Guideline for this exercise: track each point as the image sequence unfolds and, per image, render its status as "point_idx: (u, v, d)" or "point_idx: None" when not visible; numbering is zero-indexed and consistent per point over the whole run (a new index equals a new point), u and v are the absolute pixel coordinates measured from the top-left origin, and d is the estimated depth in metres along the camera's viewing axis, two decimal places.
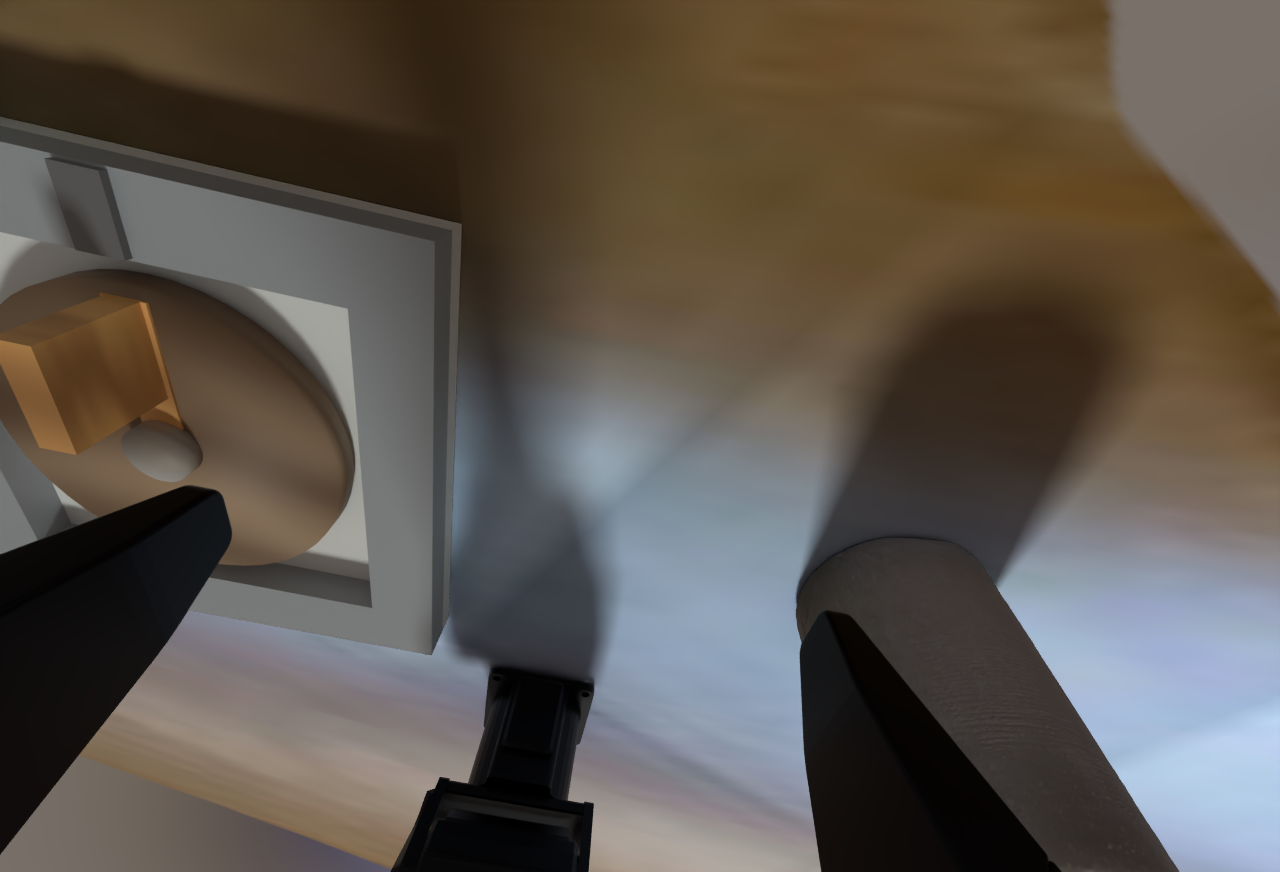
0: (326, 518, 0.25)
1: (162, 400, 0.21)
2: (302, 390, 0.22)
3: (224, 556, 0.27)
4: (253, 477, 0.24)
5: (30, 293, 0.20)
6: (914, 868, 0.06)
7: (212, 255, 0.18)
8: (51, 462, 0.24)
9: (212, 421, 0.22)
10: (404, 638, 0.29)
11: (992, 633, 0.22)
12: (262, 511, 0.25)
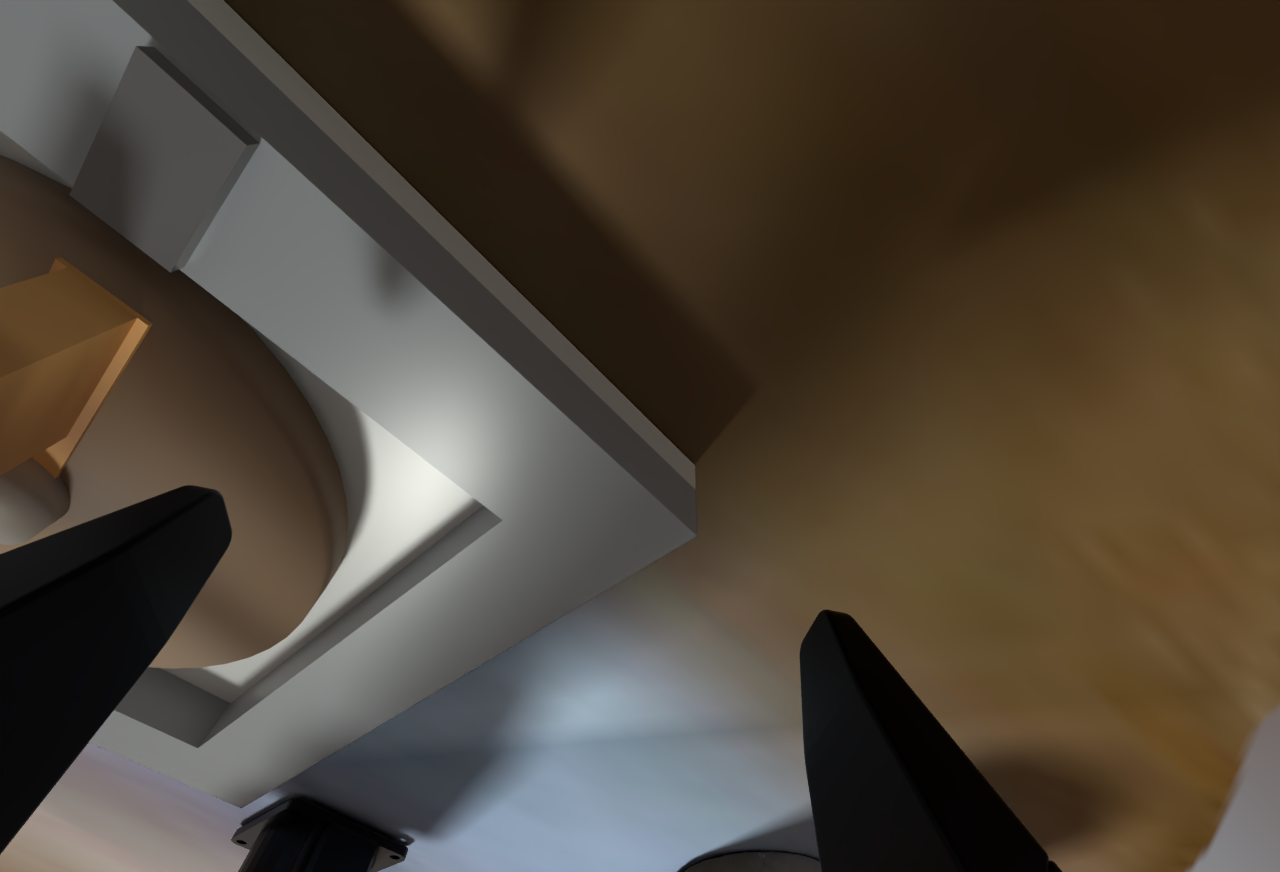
0: (220, 656, 0.16)
1: (55, 442, 0.11)
2: (327, 535, 0.13)
3: None
4: None
5: None
6: (914, 868, 0.06)
7: (348, 355, 0.10)
8: None
9: (127, 494, 0.13)
10: (217, 784, 0.20)
11: None
12: None
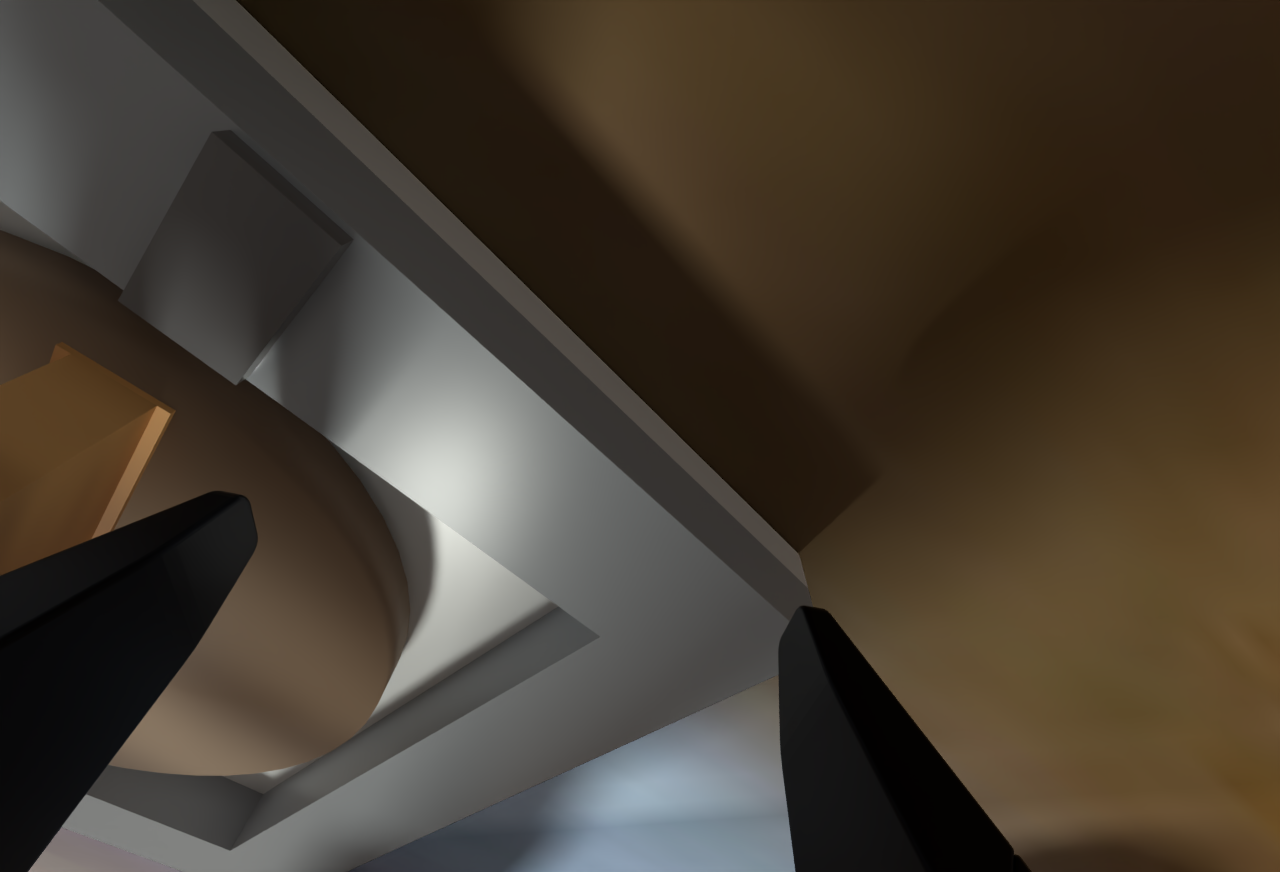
0: (277, 761, 0.14)
1: None
2: (389, 629, 0.11)
3: None
4: (180, 682, 0.12)
5: None
6: (881, 862, 0.06)
7: (438, 468, 0.09)
8: None
9: None
10: None
11: None
12: (157, 718, 0.13)
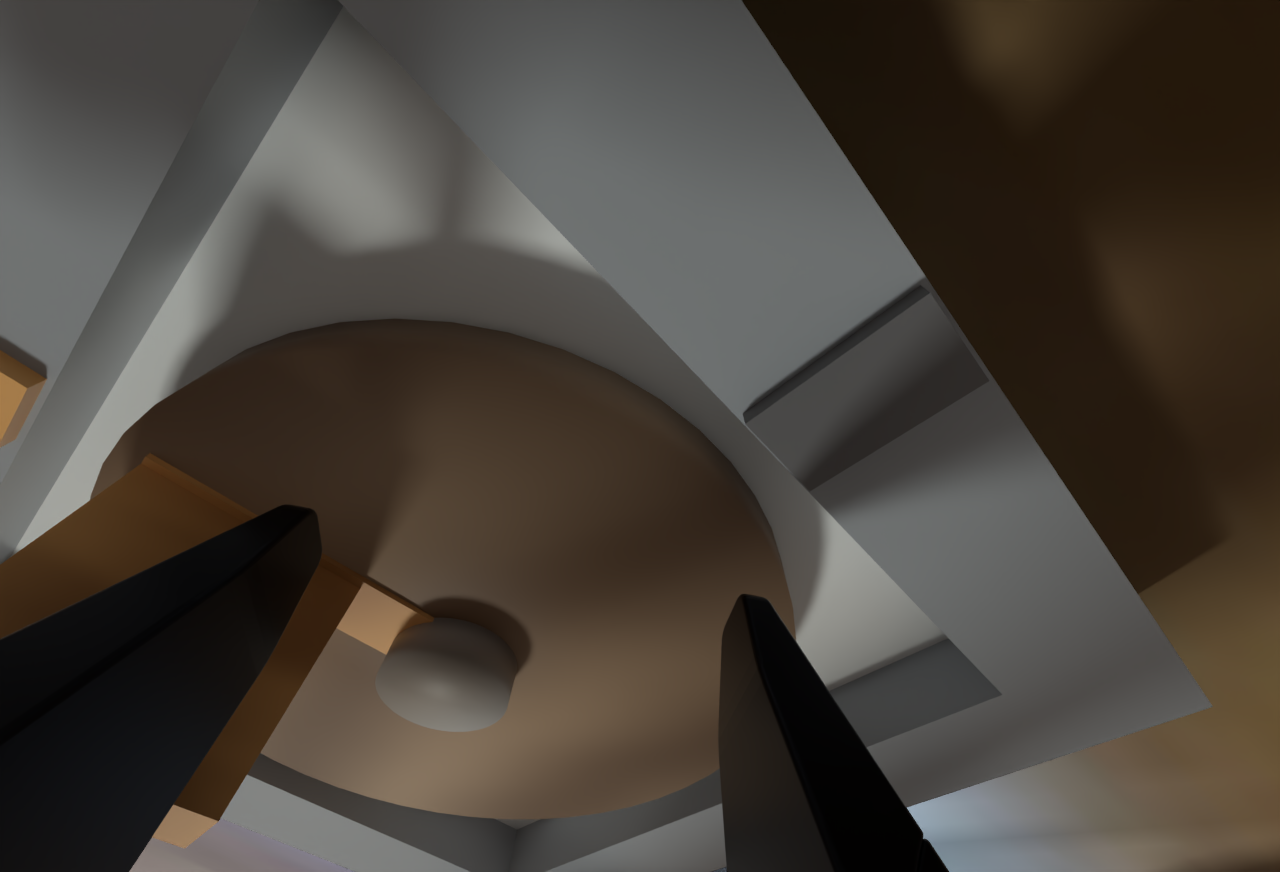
0: (762, 574, 0.10)
1: (350, 597, 0.10)
2: (456, 349, 0.08)
3: (696, 763, 0.13)
4: (587, 606, 0.11)
5: None
6: (793, 848, 0.06)
7: (936, 555, 0.09)
8: (410, 791, 0.15)
9: (439, 567, 0.10)
10: None
11: None
12: (662, 653, 0.11)
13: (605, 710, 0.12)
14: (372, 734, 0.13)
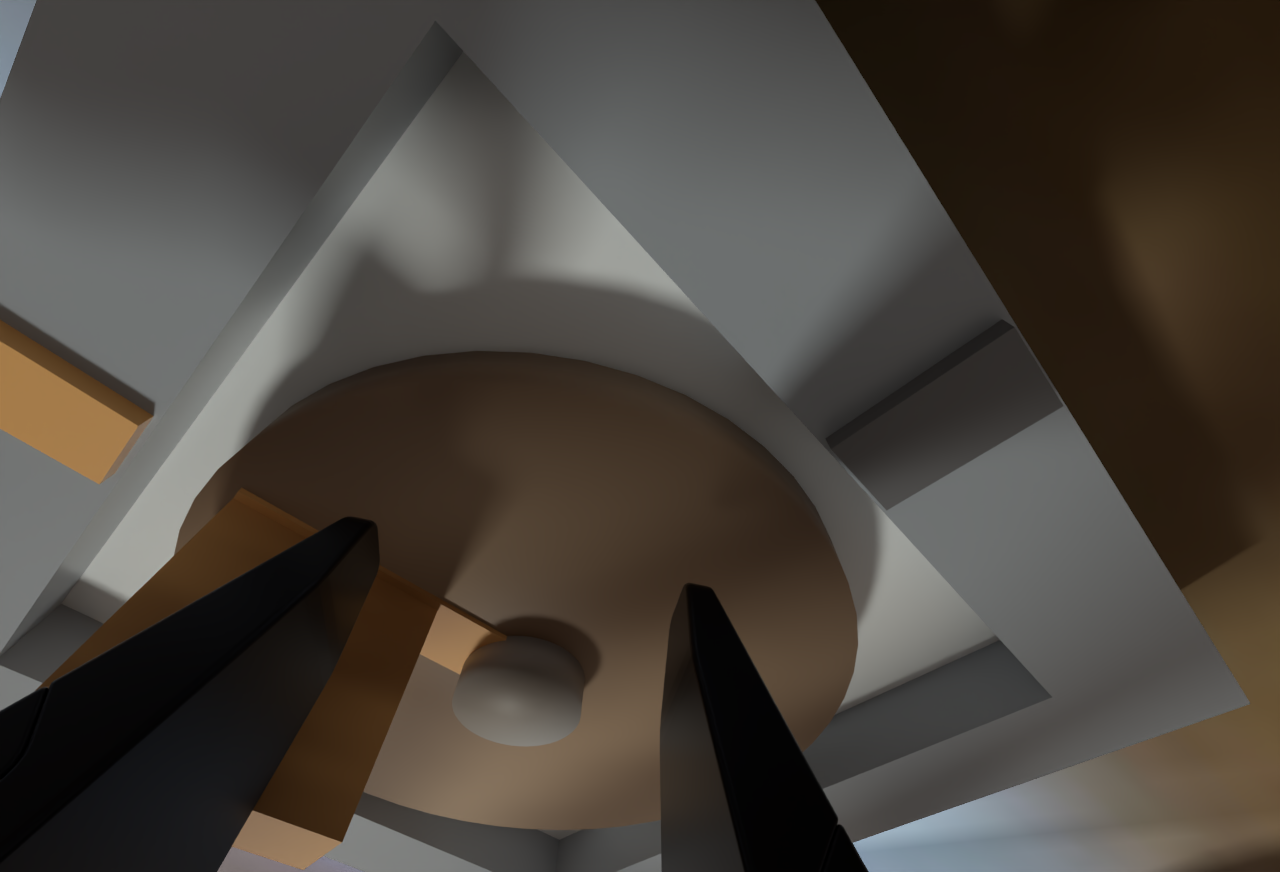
0: (829, 584, 0.10)
1: (429, 620, 0.10)
2: (543, 380, 0.08)
3: None
4: (656, 620, 0.11)
5: None
6: (712, 834, 0.05)
7: (998, 567, 0.10)
8: (470, 805, 0.15)
9: (515, 587, 0.10)
10: None
11: None
12: None
13: None
14: (437, 752, 0.14)
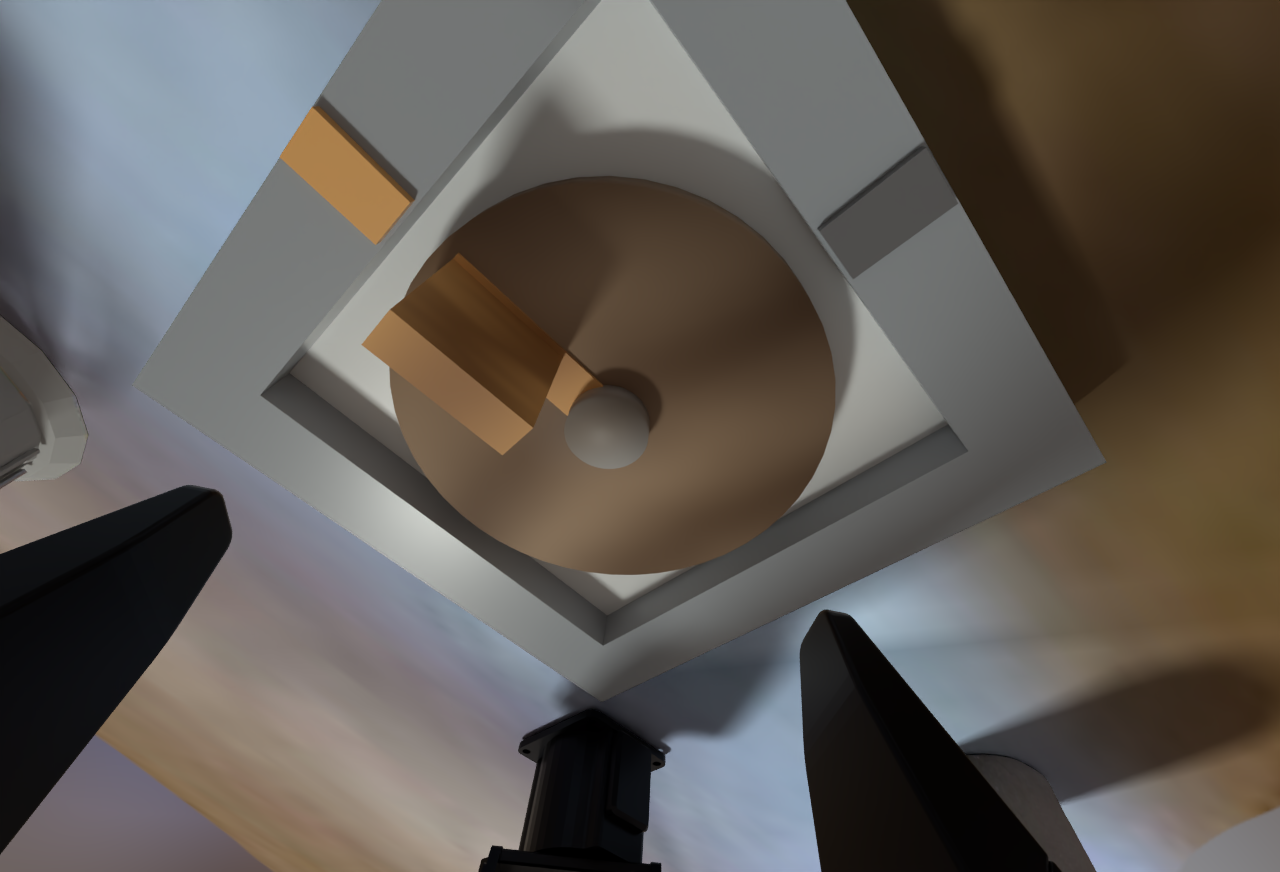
0: (818, 353, 0.16)
1: (559, 360, 0.16)
2: (656, 188, 0.14)
3: (756, 519, 0.20)
4: (704, 377, 0.17)
5: None
6: (914, 868, 0.06)
7: (927, 333, 0.15)
8: (550, 545, 0.21)
9: (615, 343, 0.16)
10: (596, 679, 0.25)
11: None
12: (747, 417, 0.17)
13: (702, 468, 0.18)
14: (536, 489, 0.19)
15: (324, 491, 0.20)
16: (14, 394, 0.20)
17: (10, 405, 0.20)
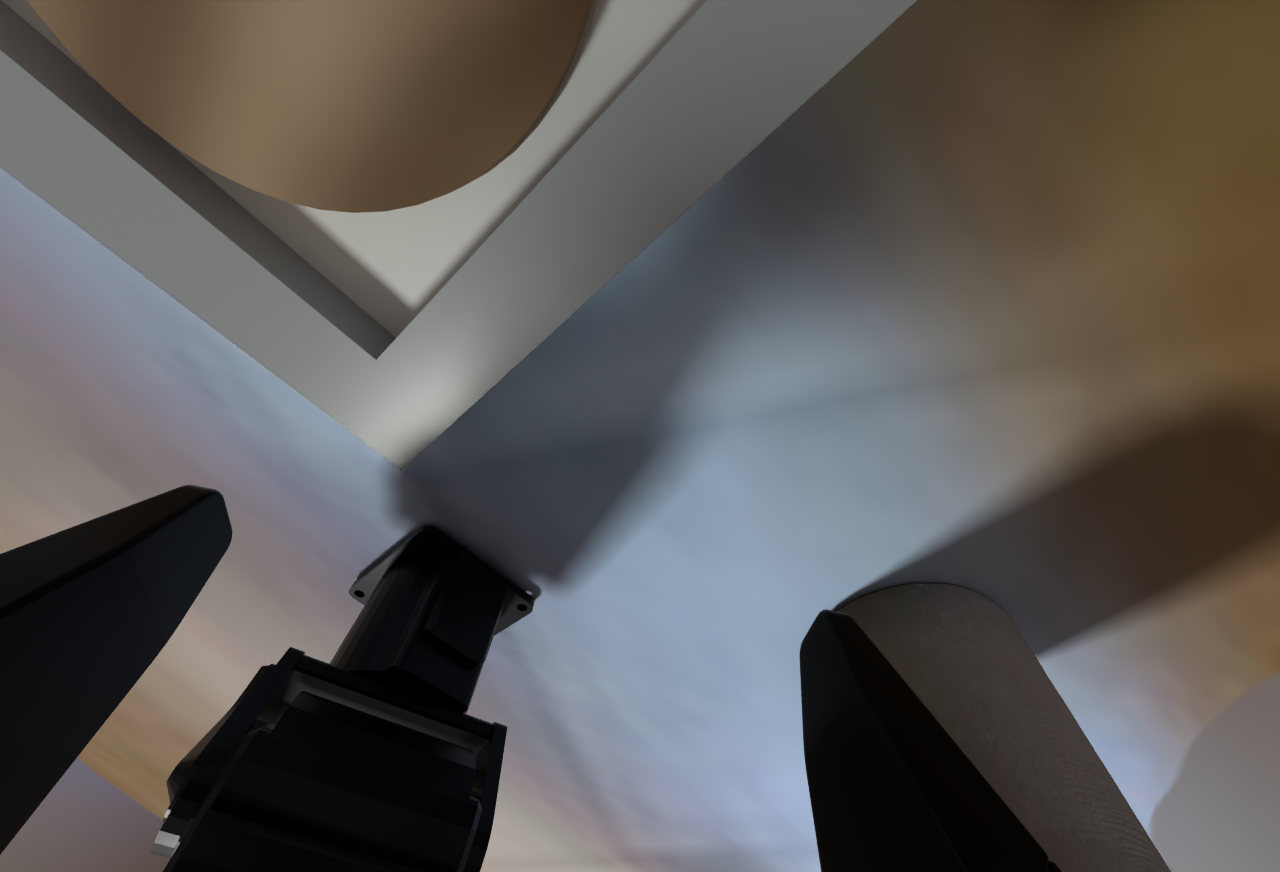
0: None
1: None
2: None
3: (532, 73, 0.13)
4: None
5: None
6: (914, 868, 0.06)
7: None
8: (252, 155, 0.14)
9: None
10: (384, 427, 0.19)
11: (1081, 730, 0.20)
12: None
13: None
14: (198, 25, 0.13)
15: None
16: None
17: None
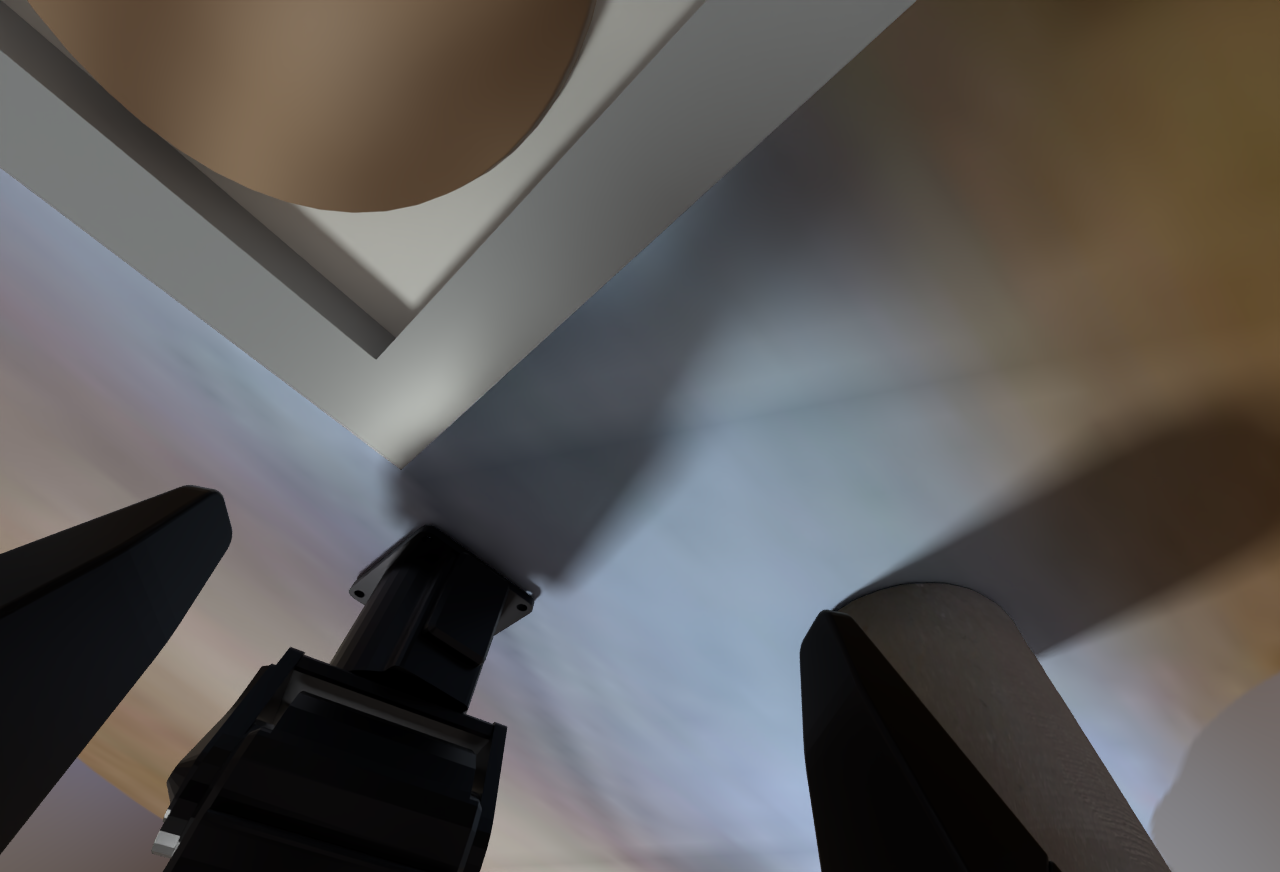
0: None
1: None
2: None
3: (532, 73, 0.13)
4: None
5: None
6: (914, 868, 0.06)
7: None
8: (252, 155, 0.14)
9: None
10: (384, 427, 0.19)
11: None
12: None
13: None
14: (198, 25, 0.13)
15: None
16: None
17: None
